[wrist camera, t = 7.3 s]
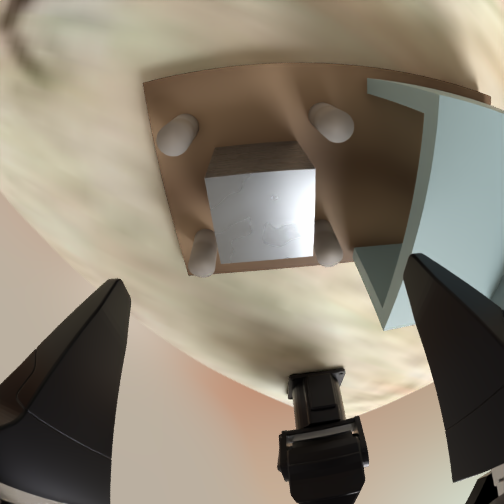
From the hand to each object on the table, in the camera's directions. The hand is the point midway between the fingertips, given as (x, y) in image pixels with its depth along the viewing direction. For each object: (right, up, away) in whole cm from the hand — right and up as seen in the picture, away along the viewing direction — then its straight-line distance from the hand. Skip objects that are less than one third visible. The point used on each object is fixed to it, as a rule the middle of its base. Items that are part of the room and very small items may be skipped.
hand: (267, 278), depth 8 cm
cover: (+10, +5, +5) cm, 12 cm away
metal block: (0, +4, +6) cm, 8 cm away
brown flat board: (+5, +6, +7) cm, 10 cm away
